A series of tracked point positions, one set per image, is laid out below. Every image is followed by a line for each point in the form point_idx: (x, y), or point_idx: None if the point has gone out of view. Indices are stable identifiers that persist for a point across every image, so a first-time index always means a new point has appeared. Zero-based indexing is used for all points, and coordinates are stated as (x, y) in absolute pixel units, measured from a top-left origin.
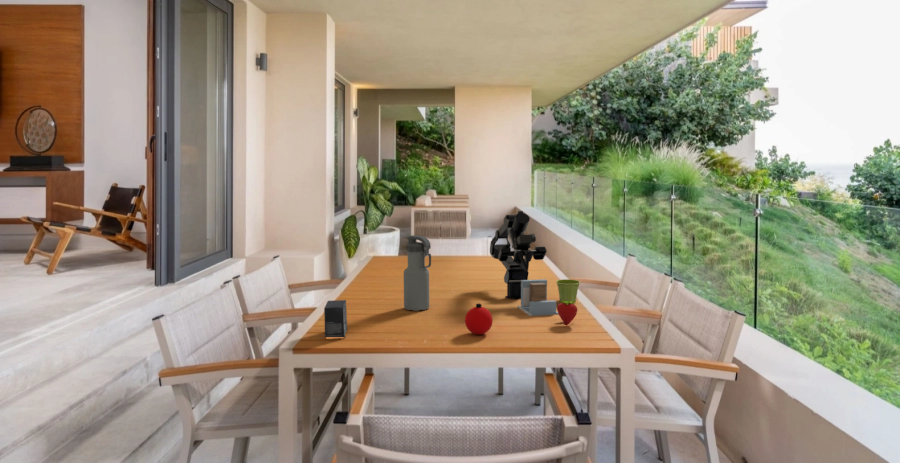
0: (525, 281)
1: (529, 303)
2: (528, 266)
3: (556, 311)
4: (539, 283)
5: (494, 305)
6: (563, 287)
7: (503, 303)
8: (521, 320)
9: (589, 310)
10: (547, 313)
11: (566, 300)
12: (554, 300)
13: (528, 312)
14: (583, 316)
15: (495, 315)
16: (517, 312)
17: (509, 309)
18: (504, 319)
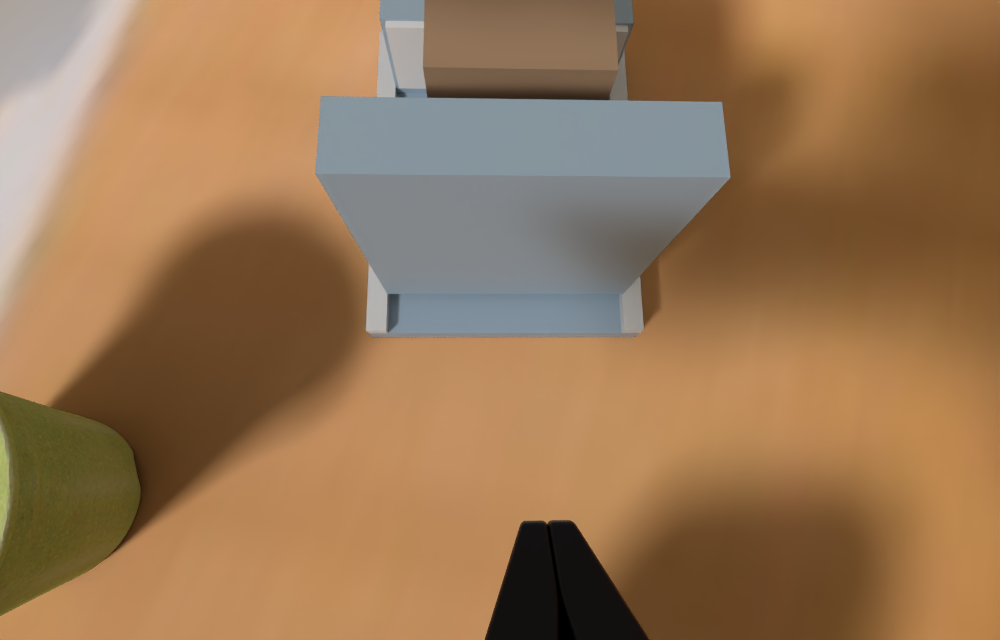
0: (676, 104)
1: (628, 27)
2: (501, 593)
3: (382, 70)
4: (487, 24)
5: (817, 539)
6: (12, 408)
7: (714, 614)
8: (691, 8)
9: (48, 167)
10: None
11: (90, 421)
12: (380, 12)
13: (615, 86)
14: (208, 11)
15: (854, 175)
16: None
17: (707, 346)
18: (804, 56)
